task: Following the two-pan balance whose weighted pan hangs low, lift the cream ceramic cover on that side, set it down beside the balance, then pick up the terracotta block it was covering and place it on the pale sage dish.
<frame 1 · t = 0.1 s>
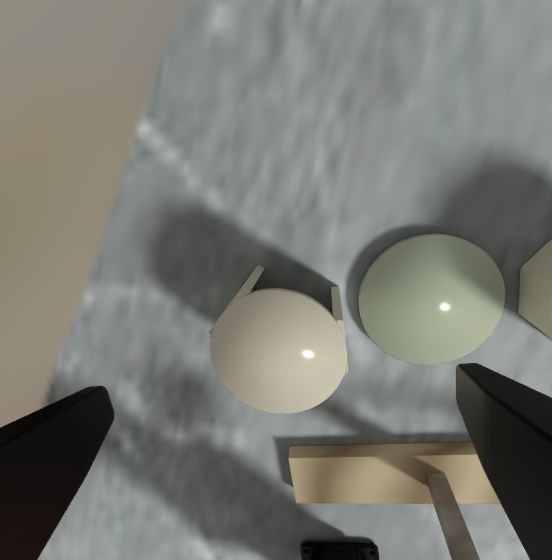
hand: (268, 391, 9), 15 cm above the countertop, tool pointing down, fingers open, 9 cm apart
balance: (431, 466, 26), on the countertop
cover b: (288, 311, 24), on the countertop
dish: (426, 299, 22), on the countertop
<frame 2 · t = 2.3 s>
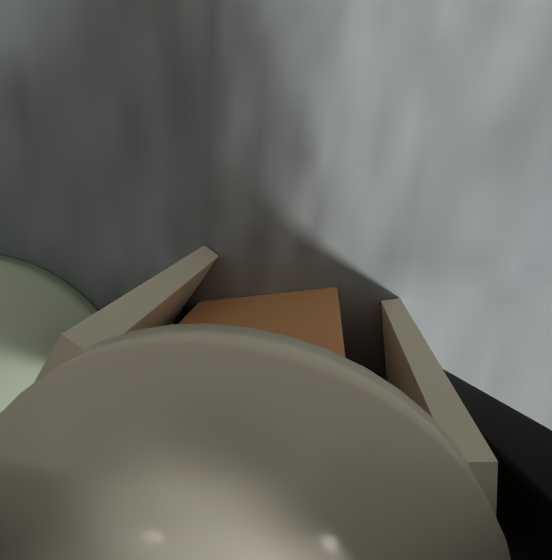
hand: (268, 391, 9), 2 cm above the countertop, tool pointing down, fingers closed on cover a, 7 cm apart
cover a: (276, 357, 10), on the countertop, touching gripper
block: (266, 397, 9), in the cover a
dish: (16, 376, 12), on the countertop
when the fingers open (4 cm above the countertop, at t = 14.0 s): cover a stays where it is, on the countertop.
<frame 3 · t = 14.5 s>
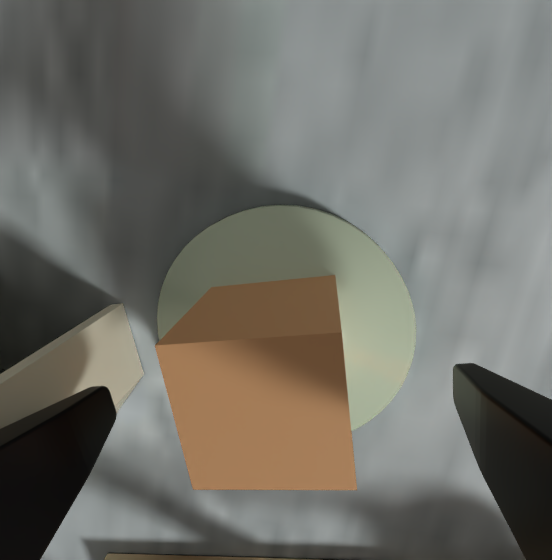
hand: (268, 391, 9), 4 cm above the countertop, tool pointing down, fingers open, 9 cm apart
block: (271, 371, 10), on the dish, point 3 cm above the countertop
cover b: (51, 347, 14), on the countertop, touching gripper
dish: (283, 328, 12), on the countertop
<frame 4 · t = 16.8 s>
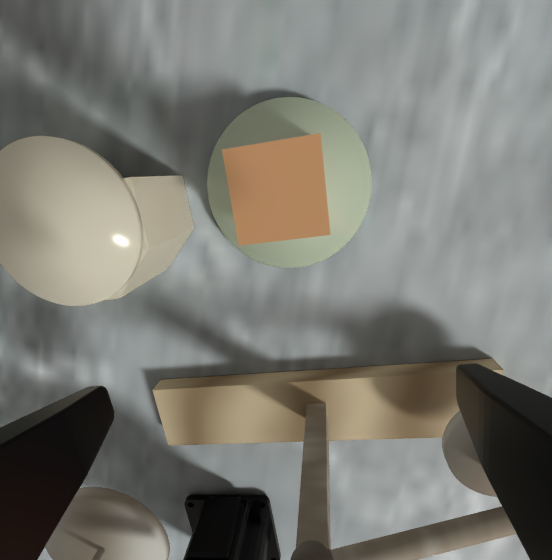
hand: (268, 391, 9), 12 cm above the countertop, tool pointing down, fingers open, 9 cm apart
balance: (317, 399, 23), on the countertop
block: (282, 190, 16), on the dish, point 3 cm above the countertop
cover b: (131, 211, 20), on the countertop
dish: (288, 187, 19), on the countertop
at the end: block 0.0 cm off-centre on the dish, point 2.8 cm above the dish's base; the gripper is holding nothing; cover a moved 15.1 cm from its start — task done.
